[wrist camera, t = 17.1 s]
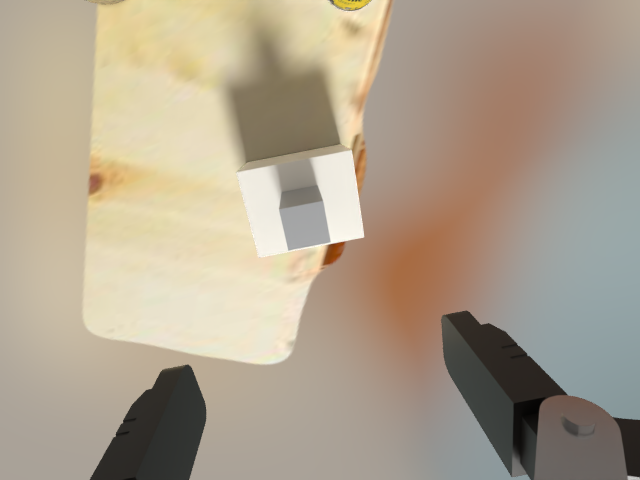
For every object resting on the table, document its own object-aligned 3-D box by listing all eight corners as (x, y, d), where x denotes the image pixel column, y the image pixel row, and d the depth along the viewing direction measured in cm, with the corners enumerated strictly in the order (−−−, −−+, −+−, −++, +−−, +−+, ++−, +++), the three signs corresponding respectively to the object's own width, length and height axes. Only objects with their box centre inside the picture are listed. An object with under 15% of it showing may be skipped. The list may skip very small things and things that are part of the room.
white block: (246, 162, 36) (222, 185, 23) (340, 144, 36) (365, 157, 24) (264, 233, 39) (251, 287, 26) (352, 216, 39) (379, 262, 26)
